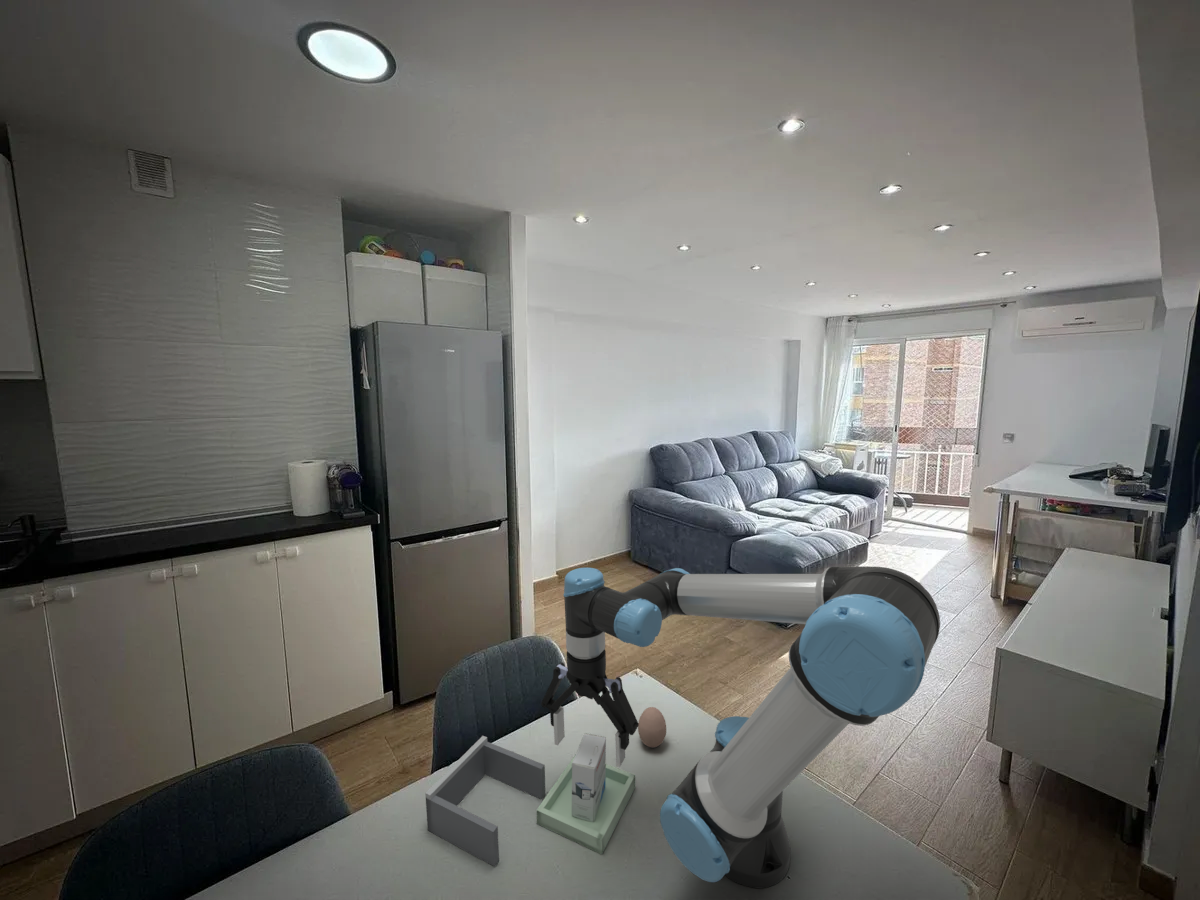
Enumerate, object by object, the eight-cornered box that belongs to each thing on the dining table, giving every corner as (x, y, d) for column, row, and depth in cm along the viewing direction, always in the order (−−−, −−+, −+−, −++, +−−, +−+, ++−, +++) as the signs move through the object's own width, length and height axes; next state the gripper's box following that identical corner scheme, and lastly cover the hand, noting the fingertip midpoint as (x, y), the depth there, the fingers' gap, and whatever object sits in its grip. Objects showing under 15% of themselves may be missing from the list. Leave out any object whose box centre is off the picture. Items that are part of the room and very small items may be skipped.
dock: (545, 795, 98) (544, 760, 97) (494, 867, 84) (493, 826, 83) (484, 768, 105) (482, 735, 104) (427, 830, 91) (425, 792, 90)
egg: (653, 760, 107) (653, 723, 106) (632, 743, 112) (632, 708, 111) (672, 745, 112) (672, 709, 111) (651, 730, 117) (651, 695, 115)
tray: (635, 787, 100) (635, 774, 100) (601, 854, 86) (601, 840, 85) (576, 764, 106) (576, 752, 106) (536, 823, 92) (536, 810, 92)
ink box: (584, 781, 101) (583, 731, 99) (607, 787, 99) (607, 736, 98) (570, 817, 92) (569, 762, 91) (595, 823, 91) (595, 768, 90)
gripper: (654, 653, 89) (655, 757, 92) (542, 628, 100) (546, 721, 103) (639, 675, 83) (641, 786, 85) (521, 645, 94) (525, 744, 96)
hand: (589, 750), depth 94 cm, fingers open, 13 cm apart
